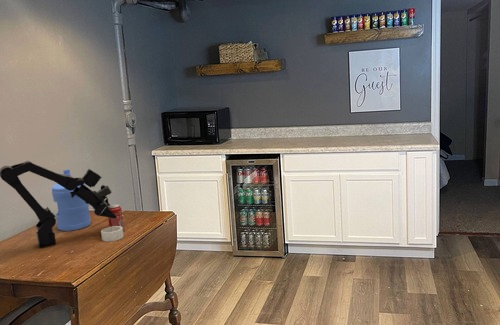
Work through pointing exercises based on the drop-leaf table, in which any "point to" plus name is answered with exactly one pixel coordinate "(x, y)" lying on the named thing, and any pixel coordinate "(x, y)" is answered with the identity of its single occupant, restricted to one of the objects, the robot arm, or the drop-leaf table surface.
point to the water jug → (70, 208)
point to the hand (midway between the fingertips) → (115, 215)
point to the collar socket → (112, 233)
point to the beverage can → (118, 212)
